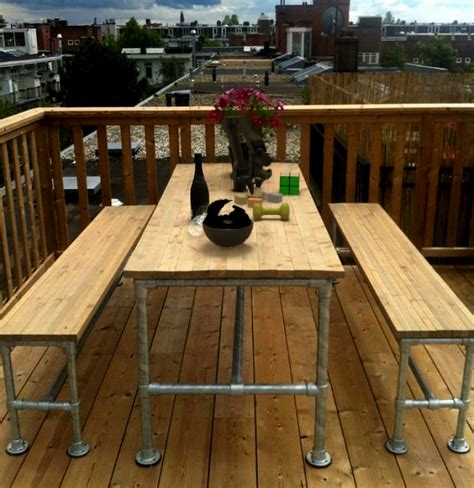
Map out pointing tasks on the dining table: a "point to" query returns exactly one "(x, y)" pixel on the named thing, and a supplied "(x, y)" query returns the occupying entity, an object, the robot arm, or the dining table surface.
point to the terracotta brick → (254, 200)
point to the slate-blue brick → (274, 197)
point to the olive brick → (240, 199)
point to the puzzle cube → (289, 183)
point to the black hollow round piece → (227, 225)
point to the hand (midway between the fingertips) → (254, 193)
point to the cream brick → (256, 192)
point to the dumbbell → (271, 211)
